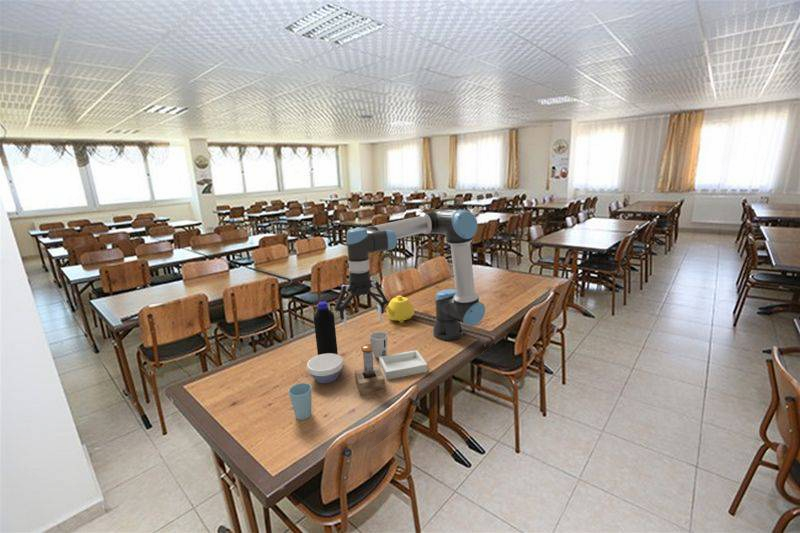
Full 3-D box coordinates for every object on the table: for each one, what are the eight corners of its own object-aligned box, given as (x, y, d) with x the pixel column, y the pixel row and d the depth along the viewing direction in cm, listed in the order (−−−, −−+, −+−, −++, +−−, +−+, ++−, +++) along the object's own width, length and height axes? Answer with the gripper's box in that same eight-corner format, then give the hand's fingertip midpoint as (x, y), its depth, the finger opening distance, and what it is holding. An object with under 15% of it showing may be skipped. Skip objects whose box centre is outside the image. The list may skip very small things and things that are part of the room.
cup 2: (386, 360, 166) (384, 339, 164) (368, 359, 168) (367, 339, 166) (390, 351, 174) (389, 332, 172) (373, 351, 176) (372, 331, 173)
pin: (374, 381, 150) (372, 343, 146) (377, 387, 146) (374, 348, 141) (363, 383, 149) (360, 345, 145) (365, 390, 145) (362, 350, 140)
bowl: (327, 391, 145) (325, 374, 143) (301, 382, 152) (299, 365, 151) (351, 374, 157) (350, 357, 155) (325, 366, 164) (324, 350, 162)
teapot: (398, 329, 198) (397, 305, 195) (376, 323, 208) (374, 300, 204) (419, 317, 213) (418, 294, 210) (398, 311, 223) (397, 290, 219)
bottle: (342, 358, 170) (336, 300, 163) (330, 367, 163) (324, 307, 155) (326, 355, 174) (320, 298, 167) (314, 364, 166) (307, 305, 159)
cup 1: (308, 405, 137) (304, 380, 134) (318, 415, 131) (315, 388, 129) (288, 415, 132) (284, 389, 129) (298, 425, 126) (294, 398, 124)
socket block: (379, 377, 153) (379, 366, 152) (385, 390, 144) (384, 378, 143) (355, 381, 151) (354, 370, 150) (359, 395, 141) (358, 383, 140)
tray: (417, 356, 168) (417, 350, 168) (427, 371, 156) (427, 364, 155) (379, 363, 164) (378, 356, 163) (386, 379, 151) (386, 372, 150)
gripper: (389, 264, 145) (391, 315, 150) (324, 272, 138) (329, 325, 143) (394, 269, 138) (396, 322, 143) (326, 277, 131) (331, 333, 136)
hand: (363, 324), depth 143 cm, fingers open, 13 cm apart
